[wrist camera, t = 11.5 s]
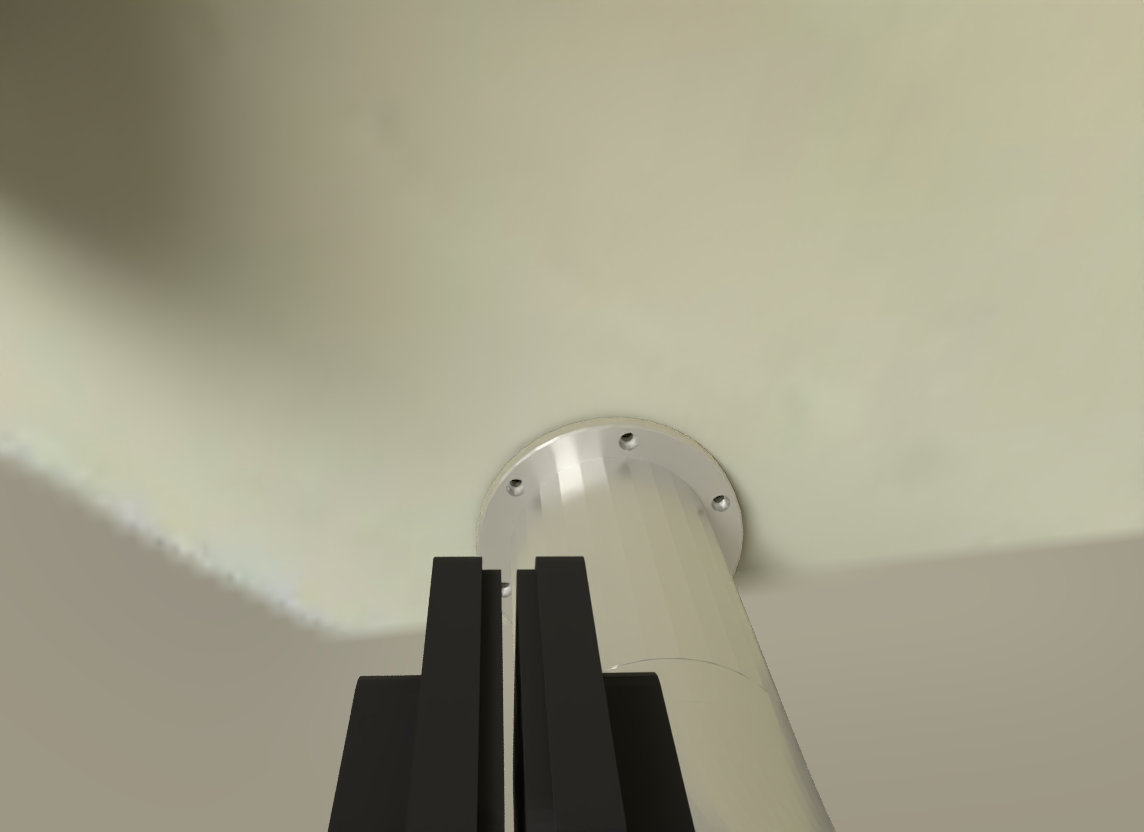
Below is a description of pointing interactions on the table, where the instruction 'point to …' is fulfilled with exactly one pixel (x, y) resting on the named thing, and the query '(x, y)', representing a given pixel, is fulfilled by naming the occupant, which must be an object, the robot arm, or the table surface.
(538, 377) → the table surface
